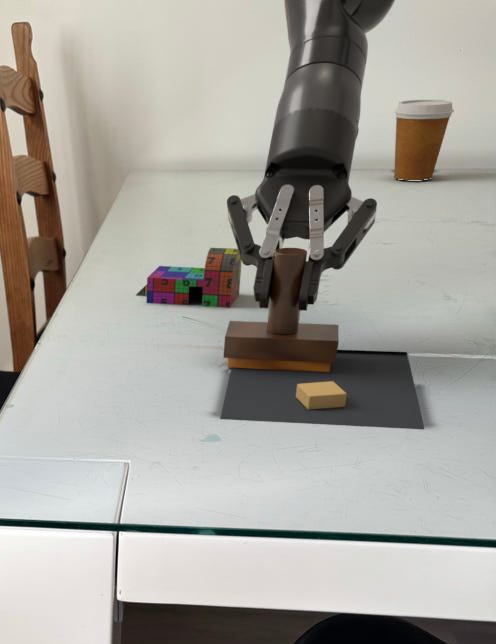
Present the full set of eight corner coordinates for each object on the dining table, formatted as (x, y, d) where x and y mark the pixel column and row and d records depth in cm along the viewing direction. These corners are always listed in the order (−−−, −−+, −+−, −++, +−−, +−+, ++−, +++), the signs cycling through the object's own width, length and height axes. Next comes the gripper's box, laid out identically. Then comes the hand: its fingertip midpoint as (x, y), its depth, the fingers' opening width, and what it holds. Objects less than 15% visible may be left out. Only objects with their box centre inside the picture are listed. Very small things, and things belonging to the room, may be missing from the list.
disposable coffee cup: (414, 185, 171) (427, 106, 165) (372, 178, 178) (383, 102, 172) (453, 179, 175) (467, 101, 168) (411, 172, 182) (423, 98, 176)
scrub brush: (334, 356, 95) (349, 245, 89) (334, 373, 91) (350, 258, 85) (227, 351, 97) (235, 243, 92) (222, 368, 93) (231, 256, 88)
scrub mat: (404, 358, 97) (406, 347, 96) (422, 440, 80) (424, 428, 79) (235, 352, 100) (236, 342, 100) (218, 430, 83) (219, 418, 83)
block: (242, 300, 116) (247, 238, 112) (228, 319, 110) (233, 254, 106) (141, 294, 120) (143, 234, 116) (123, 313, 113) (124, 250, 110)
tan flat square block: (331, 394, 86) (333, 380, 86) (345, 407, 84) (347, 393, 83) (295, 397, 86) (296, 383, 86) (308, 410, 84) (309, 396, 83)
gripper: (235, 105, 90) (201, 278, 88) (398, 104, 86) (368, 285, 83) (239, 160, 97) (208, 322, 95) (390, 161, 93) (362, 331, 90)
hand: (283, 304), depth 89 cm, fingers closed on scrub brush, 3 cm apart
